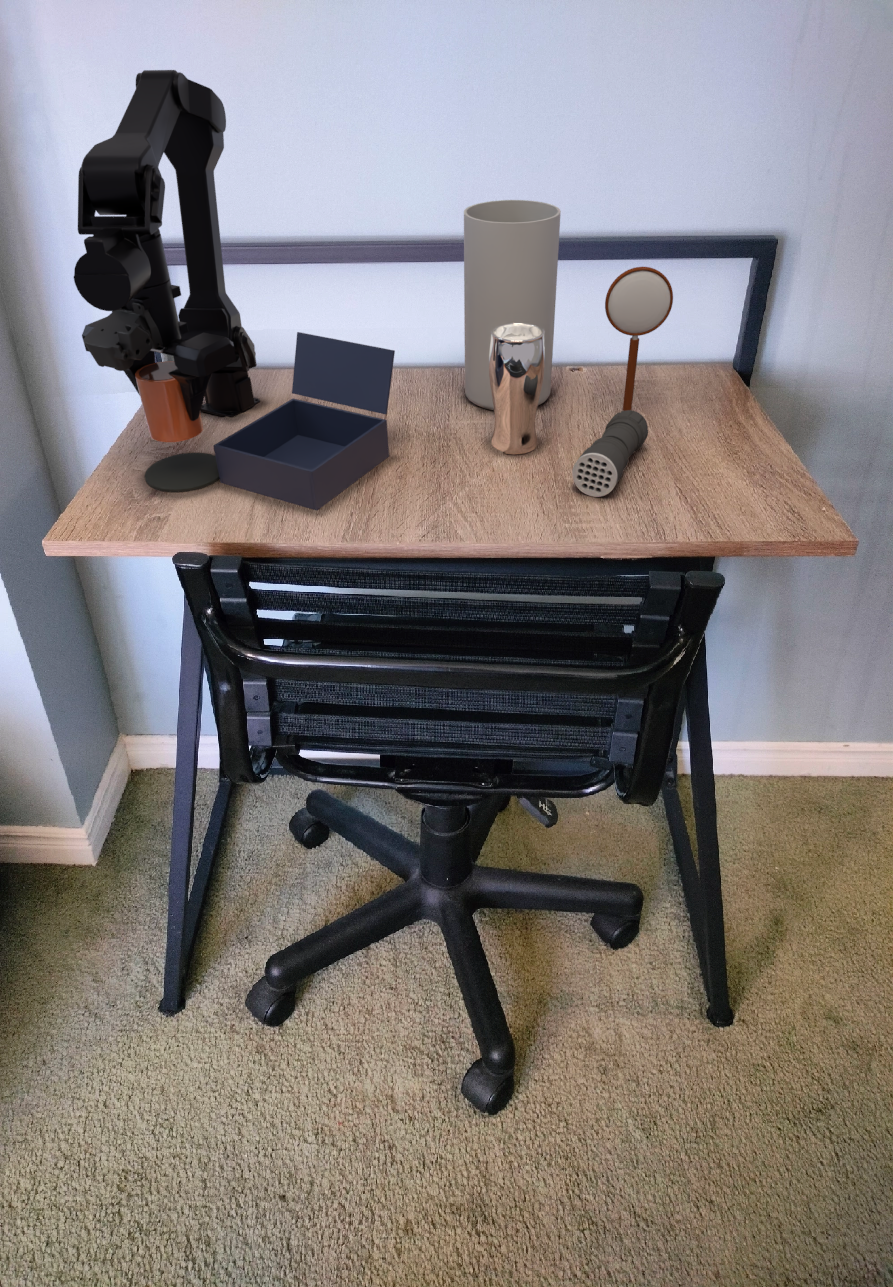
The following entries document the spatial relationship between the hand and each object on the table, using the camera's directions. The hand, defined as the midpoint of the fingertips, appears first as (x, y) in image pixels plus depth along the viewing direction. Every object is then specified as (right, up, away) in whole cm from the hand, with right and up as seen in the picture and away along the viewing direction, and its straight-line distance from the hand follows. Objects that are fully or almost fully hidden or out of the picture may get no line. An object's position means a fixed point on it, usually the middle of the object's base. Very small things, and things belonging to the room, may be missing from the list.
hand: (173, 414), depth 108 cm
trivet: (0, -7, +5) cm, 8 cm away
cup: (0, -2, +1) cm, 2 cm away
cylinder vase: (+42, +8, +23) cm, 49 cm away
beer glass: (+42, -2, +10) cm, 43 cm away
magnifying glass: (+58, +4, +16) cm, 61 cm away
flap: (+20, +7, +5) cm, 21 cm away
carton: (+15, -6, +5) cm, 17 cm away
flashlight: (+54, -6, +4) cm, 54 cm away
